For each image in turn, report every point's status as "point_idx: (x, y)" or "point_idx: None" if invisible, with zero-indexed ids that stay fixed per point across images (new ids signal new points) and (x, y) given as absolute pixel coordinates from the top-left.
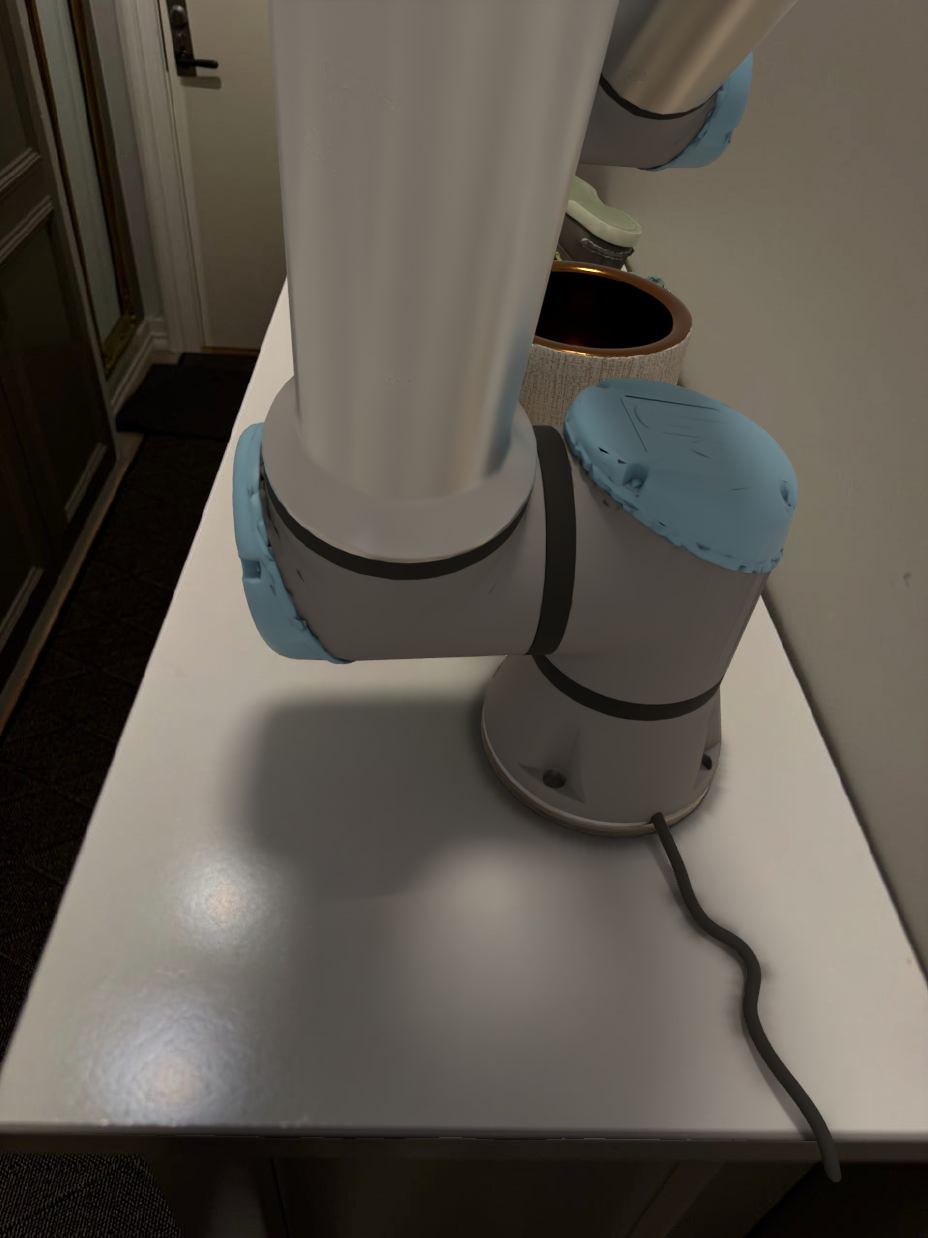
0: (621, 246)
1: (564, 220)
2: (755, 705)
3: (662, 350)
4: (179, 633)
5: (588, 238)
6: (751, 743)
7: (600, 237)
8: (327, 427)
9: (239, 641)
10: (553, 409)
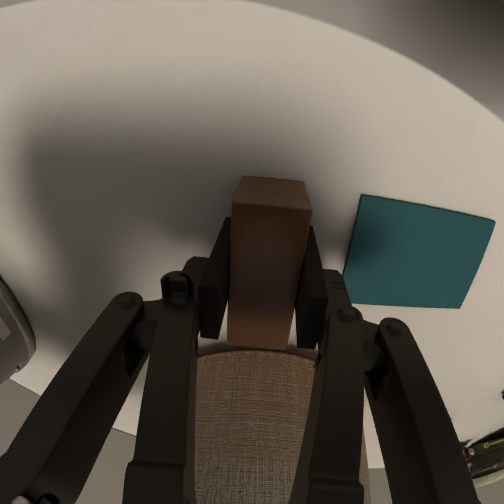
0: (474, 477)
1: None
2: (31, 379)
3: None
4: (26, 8)
5: (493, 468)
6: None
7: (485, 475)
8: None
9: (9, 65)
10: None
